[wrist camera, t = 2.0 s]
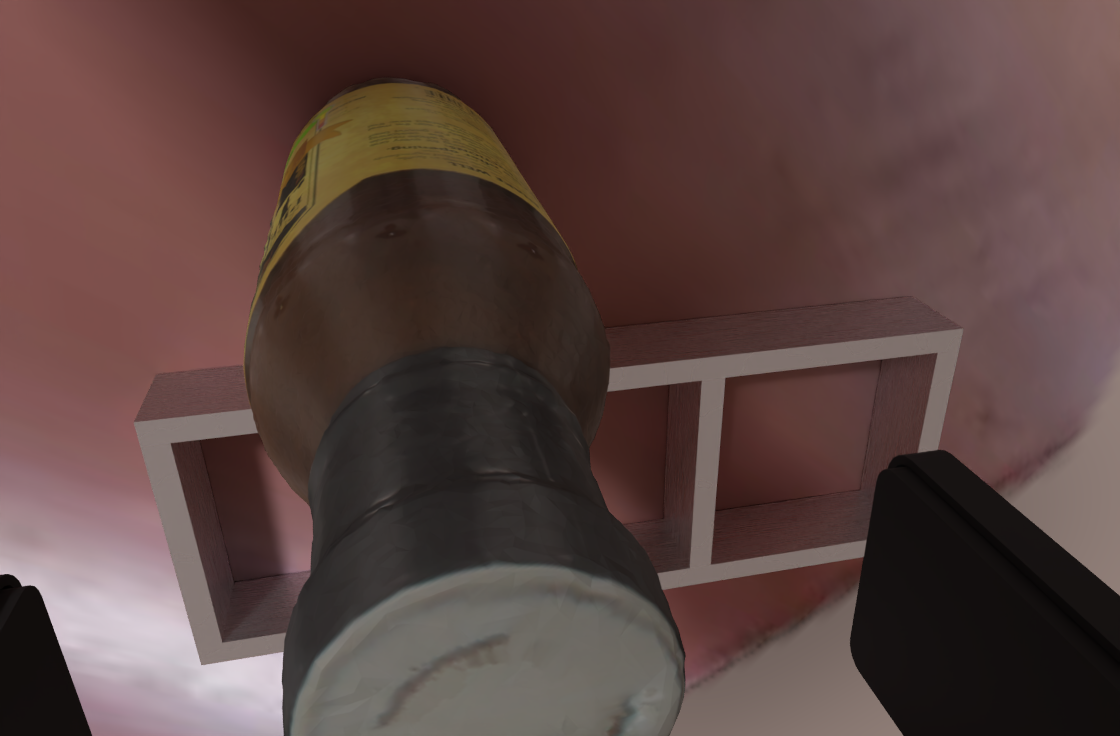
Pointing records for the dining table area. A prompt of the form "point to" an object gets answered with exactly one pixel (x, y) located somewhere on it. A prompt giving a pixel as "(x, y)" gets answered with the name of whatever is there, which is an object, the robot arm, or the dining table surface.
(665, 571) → the rack with square compartments
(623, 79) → the dining table surface
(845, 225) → the dining table surface
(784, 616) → the dining table surface
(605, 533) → the sauce bottle
